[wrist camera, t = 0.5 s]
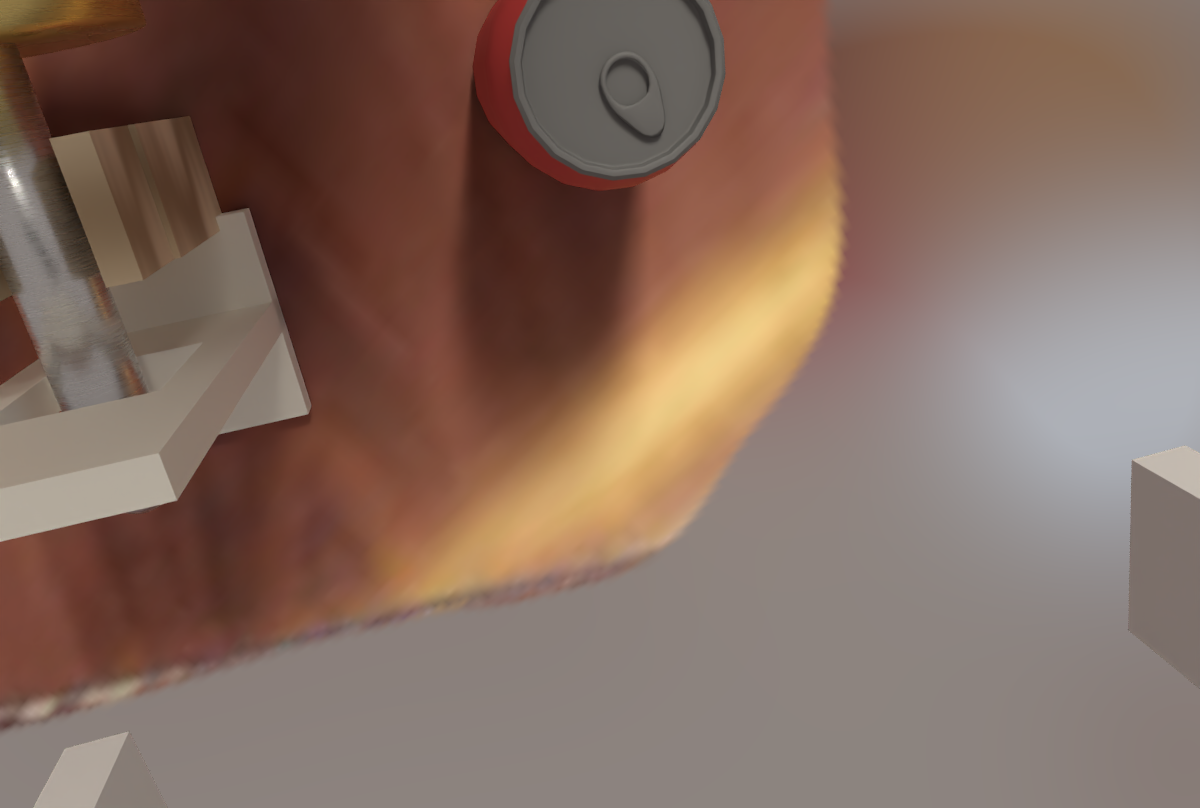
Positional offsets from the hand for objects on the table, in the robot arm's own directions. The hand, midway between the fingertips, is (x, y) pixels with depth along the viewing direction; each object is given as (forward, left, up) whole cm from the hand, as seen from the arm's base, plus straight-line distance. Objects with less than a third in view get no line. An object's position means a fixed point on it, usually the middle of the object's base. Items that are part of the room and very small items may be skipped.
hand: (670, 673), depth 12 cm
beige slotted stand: (-1, -13, -27) cm, 29 cm away
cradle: (-6, -13, -27) cm, 30 cm away
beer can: (-7, +3, -27) cm, 28 cm away
